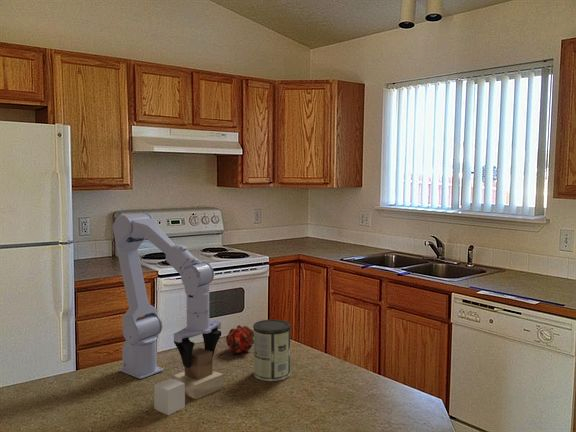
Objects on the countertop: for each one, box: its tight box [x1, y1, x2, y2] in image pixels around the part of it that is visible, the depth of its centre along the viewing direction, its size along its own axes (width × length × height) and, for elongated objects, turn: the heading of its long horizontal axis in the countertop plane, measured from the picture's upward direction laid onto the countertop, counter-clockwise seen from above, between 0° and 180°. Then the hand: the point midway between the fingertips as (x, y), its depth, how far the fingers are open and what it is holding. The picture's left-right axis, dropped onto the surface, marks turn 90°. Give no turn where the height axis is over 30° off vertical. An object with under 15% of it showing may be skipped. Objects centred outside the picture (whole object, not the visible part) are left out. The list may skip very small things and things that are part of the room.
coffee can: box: [252, 319, 292, 382], centre depth 143 cm, size 10×10×14 cm
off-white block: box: [153, 377, 186, 416], centre depth 122 cm, size 5×5×6 cm
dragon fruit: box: [225, 324, 254, 355], centre depth 161 cm, size 8×8×12 cm
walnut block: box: [184, 347, 213, 380], centre depth 133 cm, size 5×5×6 cm
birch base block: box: [173, 369, 224, 400], centre depth 134 cm, size 9×9×4 cm
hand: (198, 362), depth 133 cm, fingers open, 7 cm apart
